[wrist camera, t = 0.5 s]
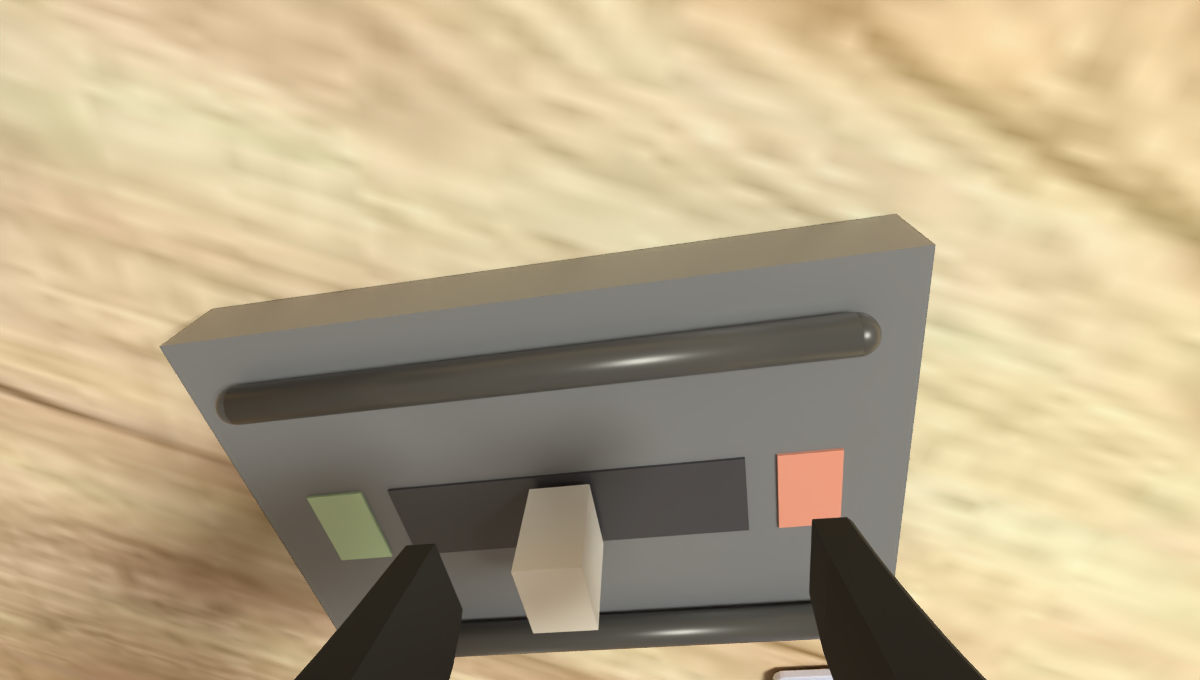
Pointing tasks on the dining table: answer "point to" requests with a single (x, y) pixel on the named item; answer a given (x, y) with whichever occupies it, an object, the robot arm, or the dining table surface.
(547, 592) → the breaker toggle
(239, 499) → the dining table surface
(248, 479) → the breaker panel
